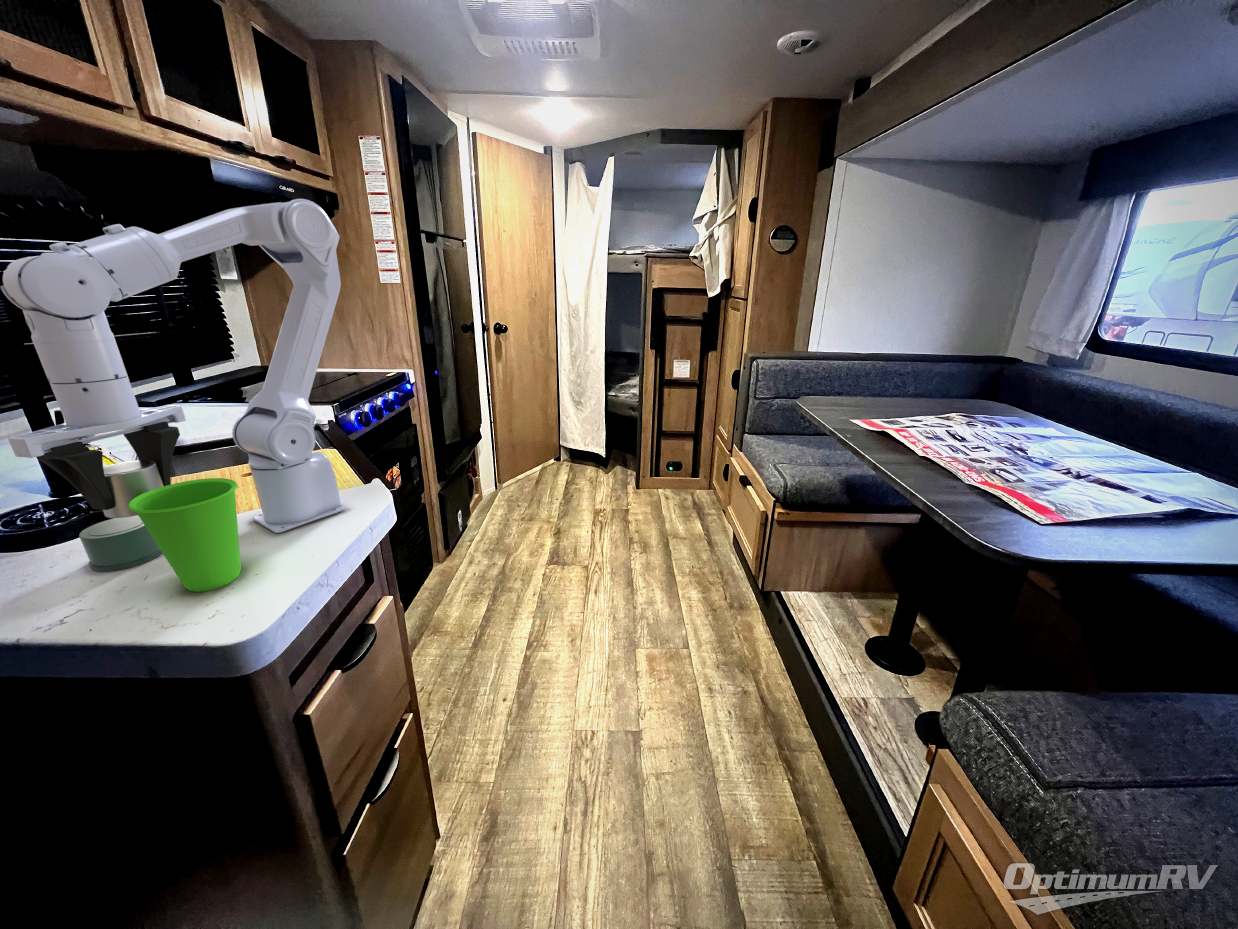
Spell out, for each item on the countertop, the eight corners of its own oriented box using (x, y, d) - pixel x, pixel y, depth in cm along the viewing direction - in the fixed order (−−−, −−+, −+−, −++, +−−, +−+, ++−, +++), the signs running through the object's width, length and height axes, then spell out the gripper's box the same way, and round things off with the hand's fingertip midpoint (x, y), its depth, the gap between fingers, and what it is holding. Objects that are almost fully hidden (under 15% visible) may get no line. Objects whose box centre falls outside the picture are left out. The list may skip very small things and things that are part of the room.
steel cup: (160, 495, 59) (147, 456, 57) (175, 505, 56) (161, 465, 54) (99, 510, 55) (82, 469, 53) (111, 522, 52) (94, 479, 50)
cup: (207, 607, 50) (174, 514, 47) (139, 597, 52) (103, 506, 48) (280, 563, 59) (257, 481, 55) (219, 555, 60) (193, 475, 57)
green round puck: (157, 538, 65) (146, 508, 63) (175, 553, 61) (163, 521, 60) (83, 560, 59) (70, 528, 58) (98, 578, 56) (83, 544, 54)
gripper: (136, 368, 58) (171, 472, 62) (-39, 390, 44) (23, 522, 49) (184, 369, 56) (217, 476, 61) (19, 393, 43) (77, 528, 48)
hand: (134, 497), depth 55 cm, fingers closed on steel cup, 5 cm apart
